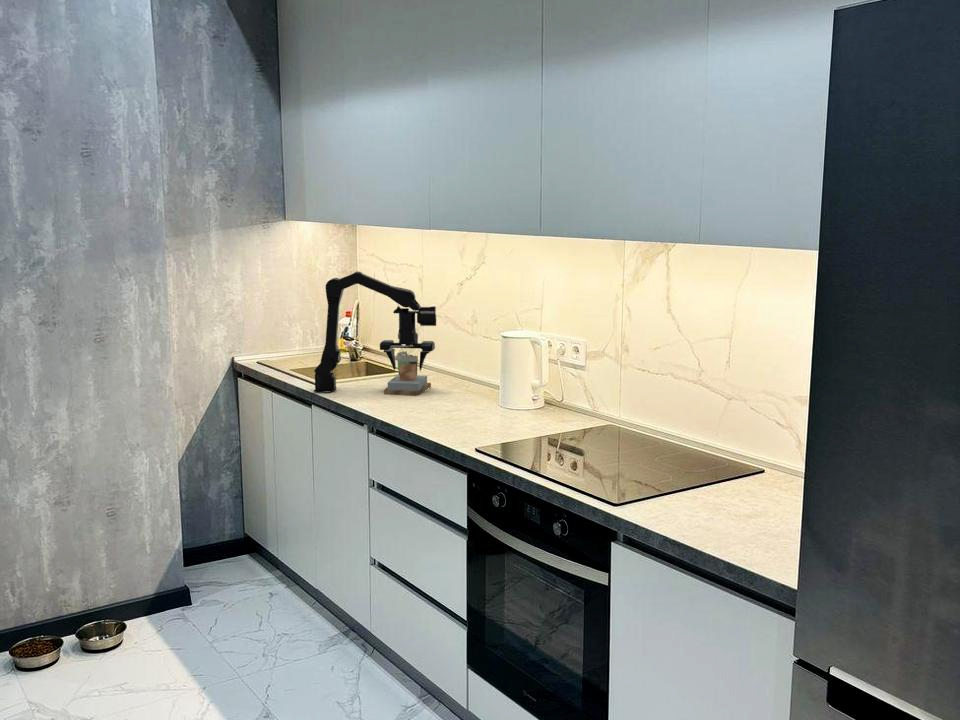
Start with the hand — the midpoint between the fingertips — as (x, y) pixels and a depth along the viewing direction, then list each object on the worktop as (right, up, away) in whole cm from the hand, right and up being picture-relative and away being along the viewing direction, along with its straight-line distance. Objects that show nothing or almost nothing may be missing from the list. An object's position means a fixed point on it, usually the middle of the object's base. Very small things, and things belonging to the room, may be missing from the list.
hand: (407, 369), depth 346 cm
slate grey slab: (0, -6, +1) cm, 6 cm away
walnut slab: (0, -8, +1) cm, 8 cm away
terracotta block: (0, -3, 0) cm, 3 cm away
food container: (-3, -4, +20) cm, 21 cm away
